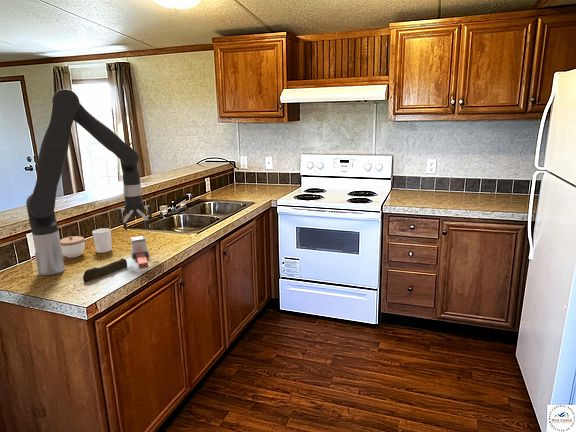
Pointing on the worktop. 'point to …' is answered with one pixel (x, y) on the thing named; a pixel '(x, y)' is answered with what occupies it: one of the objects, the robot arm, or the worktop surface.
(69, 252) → the lidded jar
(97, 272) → the hand tool
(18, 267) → the worktop surface
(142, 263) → the red grey toy vehicle
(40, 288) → the worktop surface
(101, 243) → the white cup
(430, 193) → the worktop surface
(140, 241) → the white cube
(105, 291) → the worktop surface
